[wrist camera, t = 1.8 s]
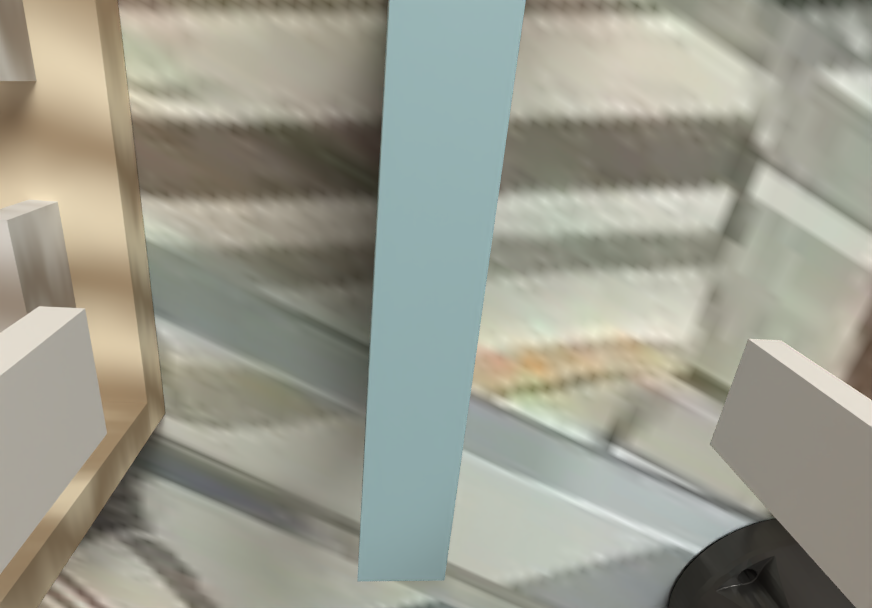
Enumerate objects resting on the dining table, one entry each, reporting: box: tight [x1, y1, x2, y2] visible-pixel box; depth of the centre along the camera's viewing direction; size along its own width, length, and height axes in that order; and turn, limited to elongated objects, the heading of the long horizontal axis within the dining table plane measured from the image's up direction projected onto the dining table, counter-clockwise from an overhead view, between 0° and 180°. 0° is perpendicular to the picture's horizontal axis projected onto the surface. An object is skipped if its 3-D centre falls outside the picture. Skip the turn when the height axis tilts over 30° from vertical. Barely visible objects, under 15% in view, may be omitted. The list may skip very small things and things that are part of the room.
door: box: [358, 0, 526, 581], centre depth 21 cm, size 20×3×14 cm, turn 175°
